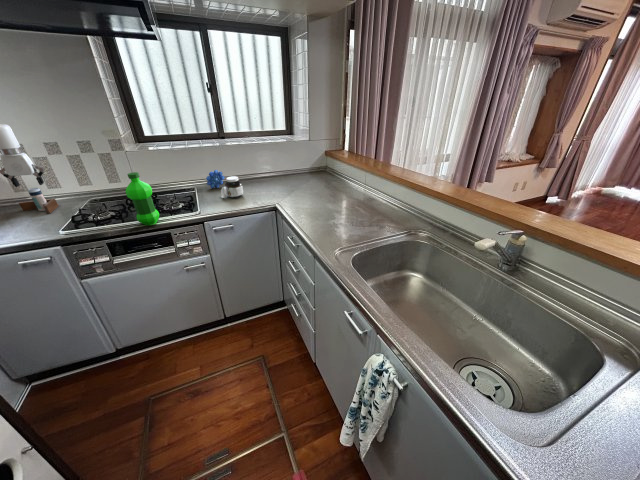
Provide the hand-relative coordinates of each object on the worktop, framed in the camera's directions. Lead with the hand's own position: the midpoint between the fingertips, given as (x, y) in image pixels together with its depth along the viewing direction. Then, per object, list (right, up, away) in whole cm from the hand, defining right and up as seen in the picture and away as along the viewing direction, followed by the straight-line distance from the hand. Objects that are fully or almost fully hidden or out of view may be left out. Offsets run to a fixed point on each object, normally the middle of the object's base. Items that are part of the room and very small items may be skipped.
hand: (30, 185), depth 139 cm
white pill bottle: (0, -12, +7) cm, 14 cm away
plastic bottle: (+68, -21, -7) cm, 71 cm away
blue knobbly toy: (+83, +6, +39) cm, 92 cm away
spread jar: (+98, -2, +24) cm, 101 cm away
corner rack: (-2, -13, +5) cm, 14 cm away
